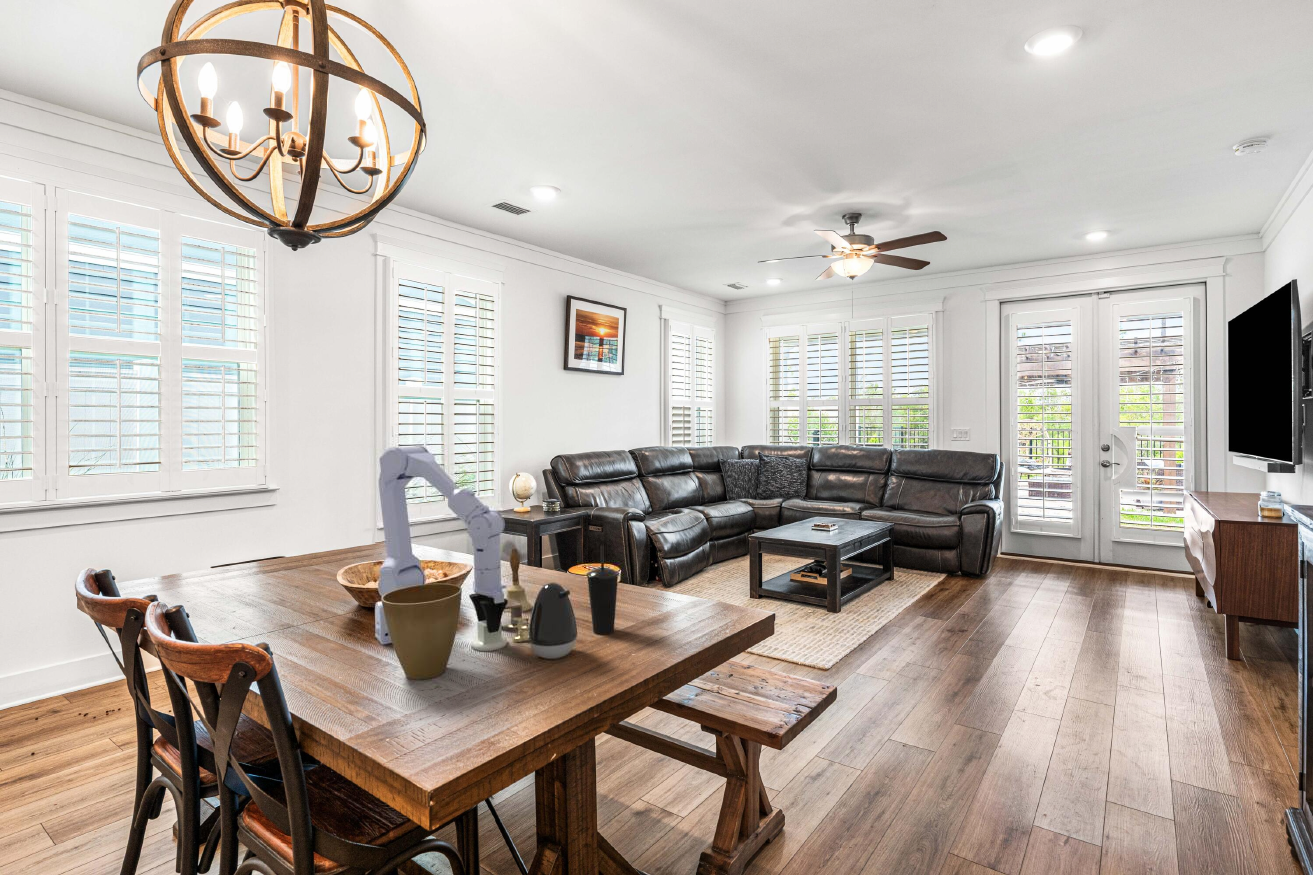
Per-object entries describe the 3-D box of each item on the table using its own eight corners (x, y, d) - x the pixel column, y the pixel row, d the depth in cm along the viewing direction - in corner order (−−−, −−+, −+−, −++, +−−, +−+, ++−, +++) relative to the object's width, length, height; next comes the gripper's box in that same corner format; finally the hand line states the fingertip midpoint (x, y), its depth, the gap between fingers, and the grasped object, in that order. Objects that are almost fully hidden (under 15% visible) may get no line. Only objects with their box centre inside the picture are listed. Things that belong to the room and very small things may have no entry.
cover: (499, 629, 155) (498, 608, 155) (490, 623, 160) (489, 603, 159) (522, 625, 158) (521, 604, 158) (512, 619, 163) (512, 599, 163)
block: (484, 644, 142) (483, 626, 141) (477, 639, 145) (477, 621, 145) (501, 640, 144) (501, 622, 144) (495, 636, 147) (494, 618, 147)
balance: (522, 648, 142) (522, 621, 142) (504, 635, 151) (503, 610, 151) (538, 644, 144) (537, 618, 144) (519, 632, 153) (518, 607, 153)
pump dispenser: (551, 667, 130) (549, 591, 130) (518, 655, 137) (517, 584, 137) (588, 653, 138) (587, 581, 138) (556, 642, 145) (554, 574, 145)
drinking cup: (615, 637, 148) (613, 549, 147) (582, 635, 149) (581, 548, 149) (623, 626, 155) (622, 543, 155) (592, 625, 157) (591, 542, 156)
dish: (478, 653, 139) (477, 648, 139) (466, 643, 145) (466, 639, 145) (512, 646, 143) (511, 641, 143) (499, 637, 149) (499, 632, 149)
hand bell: (514, 614, 167) (513, 552, 167) (493, 609, 172) (492, 549, 172) (539, 606, 174) (537, 547, 173) (518, 602, 179) (517, 544, 178)
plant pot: (437, 653, 139) (435, 579, 139) (478, 670, 130) (477, 590, 129) (368, 675, 128) (366, 594, 127) (409, 695, 118) (407, 607, 118)
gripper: (517, 570, 140) (518, 633, 140) (493, 559, 152) (494, 617, 152) (485, 575, 136) (486, 639, 136) (463, 563, 148) (464, 622, 148)
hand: (488, 628), depth 144 cm, fingers open, 5 cm apart
